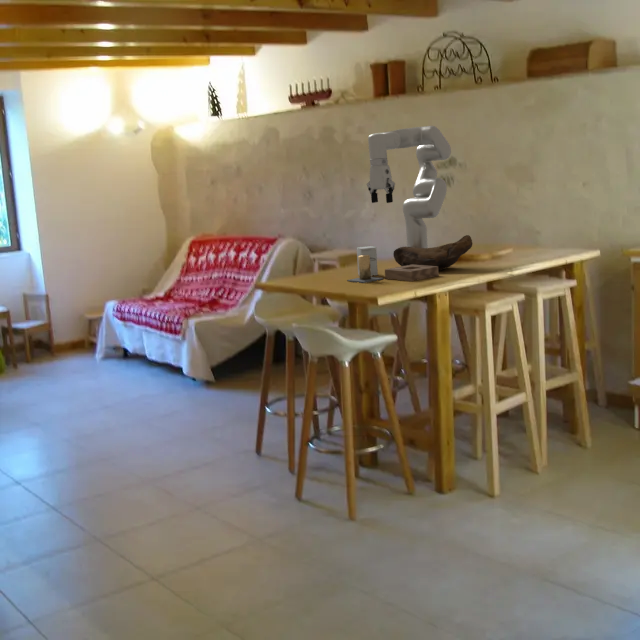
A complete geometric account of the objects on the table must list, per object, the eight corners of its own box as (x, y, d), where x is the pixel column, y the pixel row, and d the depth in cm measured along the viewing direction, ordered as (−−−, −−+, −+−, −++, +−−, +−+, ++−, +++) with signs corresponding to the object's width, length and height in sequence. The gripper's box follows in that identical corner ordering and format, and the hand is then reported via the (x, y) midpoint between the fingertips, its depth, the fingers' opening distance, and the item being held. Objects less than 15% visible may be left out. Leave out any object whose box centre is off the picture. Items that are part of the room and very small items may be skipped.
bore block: (412, 273, 362) (412, 264, 361) (438, 275, 349) (438, 266, 348) (385, 278, 352) (384, 269, 351) (411, 281, 340) (410, 271, 339)
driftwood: (479, 268, 362) (478, 234, 359) (455, 274, 349) (453, 239, 346) (413, 265, 388) (411, 233, 385) (388, 271, 375) (386, 238, 372)
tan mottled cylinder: (366, 277, 355) (364, 254, 354) (373, 278, 351) (372, 255, 350) (357, 279, 352) (355, 256, 351) (364, 279, 349) (363, 256, 347)
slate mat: (366, 277, 360) (366, 276, 360) (383, 279, 351) (383, 277, 351) (347, 281, 353) (347, 280, 353) (363, 283, 344) (363, 281, 344)
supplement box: (362, 277, 363) (360, 248, 361) (358, 275, 370) (356, 247, 368) (378, 275, 364) (376, 246, 362) (373, 273, 371) (372, 245, 369)
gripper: (398, 161, 351) (402, 201, 355) (372, 162, 364) (375, 201, 368) (385, 163, 347) (389, 203, 350) (359, 164, 360) (362, 203, 364)
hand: (382, 202), depth 359 cm, fingers open, 9 cm apart
